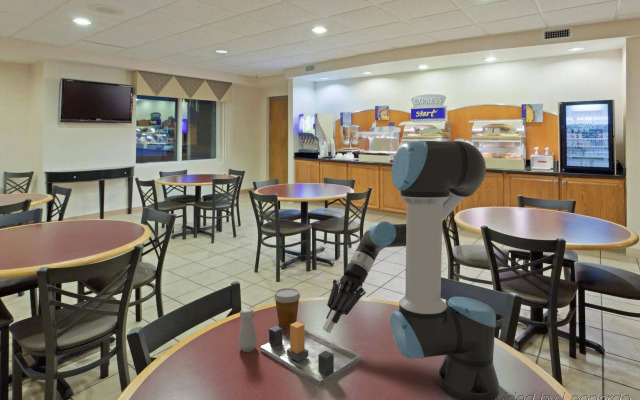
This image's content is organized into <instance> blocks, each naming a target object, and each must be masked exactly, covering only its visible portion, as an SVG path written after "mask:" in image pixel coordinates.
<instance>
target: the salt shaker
mask: <svg viewBox="0 0 640 400" xmlns="http://www.w3.org/2000/svg"><path fill="white" fill-rule="evenodd" d="M254 314H255V312H254V309H252V308H247V307H246V308H243V309H241V310H240V311H239V318H240V319H241V320H240V331H239V335H238V336H239V337H238V346H239V347H240V350H241V351H242V352H244V353H250V352H253V351H254V349H255V347H256V345H257V343H258V339H257V334H256V330H255V329H256V328H255V325H254V320H253V318H254Z"/></svg>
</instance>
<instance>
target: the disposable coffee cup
mask: <svg viewBox="0 0 640 400" xmlns="http://www.w3.org/2000/svg"><path fill="white" fill-rule="evenodd" d="M300 298H301V294H300V291H299V290H298V289H296V288H291V287H289V288H288V287H287V288H286V287H284V288H280V289H278V290H275V292H274V295H273V299H274V301H275V306H276V314H277V321H278V327H280V328H282V329H290V324H293V323H295V322H297V321H298V312H299V311H298V309H299V302H300Z"/></svg>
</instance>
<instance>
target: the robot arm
mask: <svg viewBox="0 0 640 400" xmlns="http://www.w3.org/2000/svg"><path fill="white" fill-rule="evenodd" d="M391 166H392V167H391V179H392V184H393V186H394V188H395V189H396V190H397V191H399V192H400V198H401V199H402V200H403V201H404V202H405V203H406V219H405V222H406V223H399V224H398V223H397V224H392V223H391V222H389V221H386V220H383V221H379V222H377V223H376V224H374V225H373V226H369V227H368V228H366V231H365V232H364V233H363V235H362V237H361V240H360V241H359V244H358V246H357V248H356V249H355V251H354V253H353V254H352V256H351V259H350V260H349V262H348V264H347V266H346V267H345V269H344V274H343V276H341V277H340V279H338V280H337V279H333V280H332V289H331V291H330V294H329V298H328V301H327V304H326V305H327V308H329V312H328V313H327V315H326V317H325V318H326V321H325V322H324V324H323V326H322V329H323V330H324V331H326V333H328V334H331V332H332V331H333V328H334V327H335V324H338V322H339V320H340V319H341V317H342V315H345V316H347V315H349V313H350V312H351V310H352V309H353V308H354V307H355V305H356V304H357V303H358V302H359V300H360V299H361V298H362V297H363V296H364V295H366V293H367V292H366V290H365V288H363V283H365V281H366V280H367V278H368V275H369V273H370V271H371V270H372V268H373V265H374V263H375V261H376V259H377V257H378V255H379V253H380V252H381V251H382V250H384V249H385V248H386V249H387V248H400V247H405V295H404V296H403V297H402V298H401V299H400V300H399V301H398V303H399V304H398V307H399V310H395V311H393V312H392V313H391V315H390V320H389V321H390V322H389V323H390V329H391V333H392V337H393V341H394V343H395V345H396V348H397V349H398V351H399V353H400V354H401V355H402V356H403V357H404V358H407V359H409V360H410V359H420V360H422V359H424V358H431V357H439V356H444V358H443V360H442V362H441V365H440V367H439V369H438V371H437V372H438V374H437V381H438V385H439V386H440V388H441V389H442V390H443V391H444V392H445V393H447V394H448V395H450V396H451V397H453V398H455V399H458V400H496V398H498V396H499V392H500V391H499V390H500V382H499V379H498V375H497V372H496V369H495V365H494V353H495V352H494V350H495V349H494V348H495V336H496V334H495V333H496V327H497V323H496V311H495V310H494V309H493V308H492V307H491V306H490V305H488V304H487V303H485V302H483V301H480V300H478V299H475V298H470V297H466V296H451V297H450V298H449V299H448V301H447V304H446V302H445V301H444V300H443V299H442V297H441V296H442V295H441V294H442V293H441V291H442V290H441V289H442V257H443V256H442V253H443V252H442V250H443V249H442V247H443V245H442V244H443V221H444V220H445V219H447V217H448V216H449V215H450V214H451V213H452V212H453V211H454V209H456V207H457V206H458V205H459V204H460V203H461V202H462V201H463V200H464V199H465V198H468V197H471V196H472V195H474V194H475V192H476V191H477V190H478V189H479V188H480V187H481V185H482V183H483V181H484V179H485V176H486V171H487V167H486V160H485V157H484V155H483V154H482V152H481V151H480V150H479V149H478V148H477V147H476V146H475V145H473V144H471V143H469V142H466V141H461V140H452V141H450V140H449V141H445V140H444V141H443V140H416V141H407V142H405V143H403V144H401V146H399V148H398V149H397V151H396V153H395V154H394V158H393V162H392V165H391Z"/></svg>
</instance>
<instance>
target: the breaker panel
mask: <svg viewBox="0 0 640 400" xmlns="http://www.w3.org/2000/svg"><path fill="white" fill-rule="evenodd" d="M289 348H290V332H289V333H287V334H285V335H283V327H280V326H279V325H274V326H272V327H269V328H268V342H267V343H265V344H263V345H261V346H260V351H261V352H262V353H263V354H266V355H267V356H268V357H270V358H272V359H273V360H275V361H277V362H278V363H280V364H282V365H283V366H285V367H286V368H289V369H290V370H292V371H293V372H295V373H297V374H298V375H300V376H302V378H303V377H304V378H305V379H306V380H308V381H310V382H311V383H313V384H315V385H317V386H318V387H322V386H323V385H324V384H326V383H328V382H330V381H332V380H333V379H334V378H336V377H338V376H339V375H340V374H342V373H344V372H345V371H346V370H348V369H350V368H352V367H353V366H355V365H356V364H358V363H360V362H361V361H362V359H363V355H362V354H359V353H358V352H355V351H353V350H352V349H349V348H348V347H345V346H343V345H341V344H339V343H337V342H335V341H334V340H330V339H329V338H326V337H323V336H322V335H320V334H318V333H315V332H314V331H311V330H309V329H307V328H305V349H306V350H308V357H307V358H305V359H303V360H301V361H299V362H297V361H296V360H294V359H292V358H290V357H289V356H287V349H289Z"/></svg>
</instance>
